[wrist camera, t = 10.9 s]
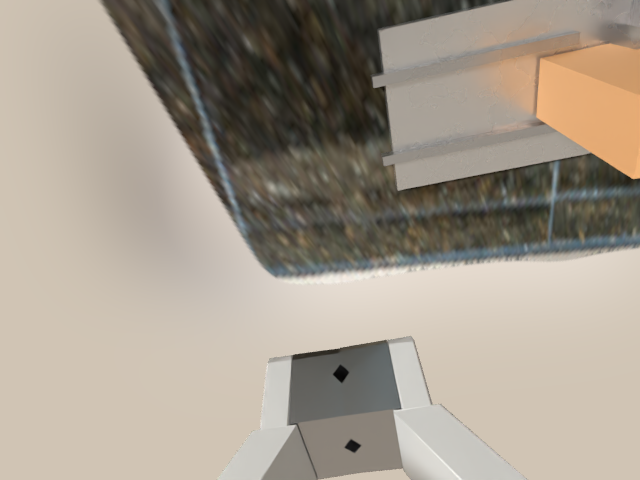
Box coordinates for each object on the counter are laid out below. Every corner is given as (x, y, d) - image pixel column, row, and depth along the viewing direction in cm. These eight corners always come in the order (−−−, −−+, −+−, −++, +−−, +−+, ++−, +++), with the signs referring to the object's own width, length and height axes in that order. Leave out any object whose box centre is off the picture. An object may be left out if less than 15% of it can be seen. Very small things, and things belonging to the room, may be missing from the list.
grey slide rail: (384, 187, 39) (395, 217, 34) (363, 31, 32) (373, 42, 27) (632, 139, 37) (679, 164, 32) (667, -37, 30) (733, -39, 25)
